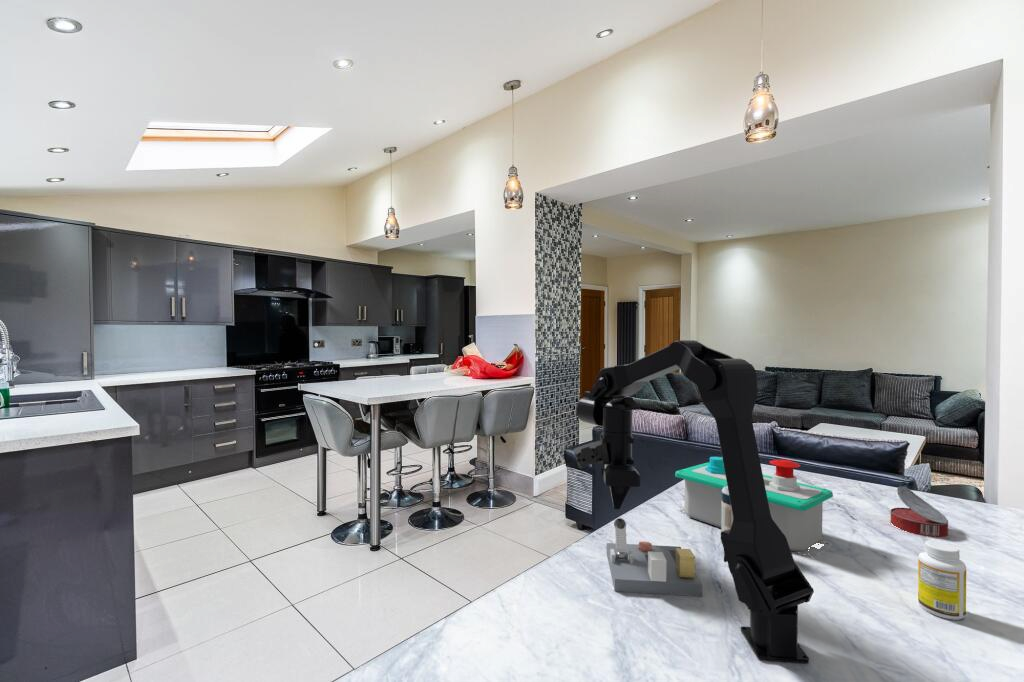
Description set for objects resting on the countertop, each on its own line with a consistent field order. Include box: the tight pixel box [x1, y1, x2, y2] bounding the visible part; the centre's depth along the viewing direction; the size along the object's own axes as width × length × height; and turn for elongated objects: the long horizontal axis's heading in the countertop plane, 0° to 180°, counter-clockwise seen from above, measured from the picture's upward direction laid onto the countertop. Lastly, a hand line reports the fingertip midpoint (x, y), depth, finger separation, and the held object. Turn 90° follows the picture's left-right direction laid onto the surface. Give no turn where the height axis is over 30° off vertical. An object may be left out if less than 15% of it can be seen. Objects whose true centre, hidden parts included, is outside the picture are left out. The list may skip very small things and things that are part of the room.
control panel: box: [674, 456, 834, 558], centre depth 107 cm, size 15×16×30 cm
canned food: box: [890, 485, 949, 538], centre depth 107 cm, size 11×10×10 cm
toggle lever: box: [613, 517, 628, 560], centre depth 87 cm, size 2×2×7 cm
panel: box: [606, 540, 703, 597], centre depth 85 cm, size 14×14×3 cm
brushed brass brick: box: [675, 548, 696, 578], centre depth 81 cm, size 3×2×4 cm
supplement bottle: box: [917, 540, 967, 621], centre depth 74 cm, size 6×6×10 cm
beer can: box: [720, 485, 733, 544], centre depth 96 cm, size 5×5×12 cm
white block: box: [648, 551, 666, 582], centre depth 79 cm, size 3×2×4 cm
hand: (616, 508), depth 95 cm, fingers closed
